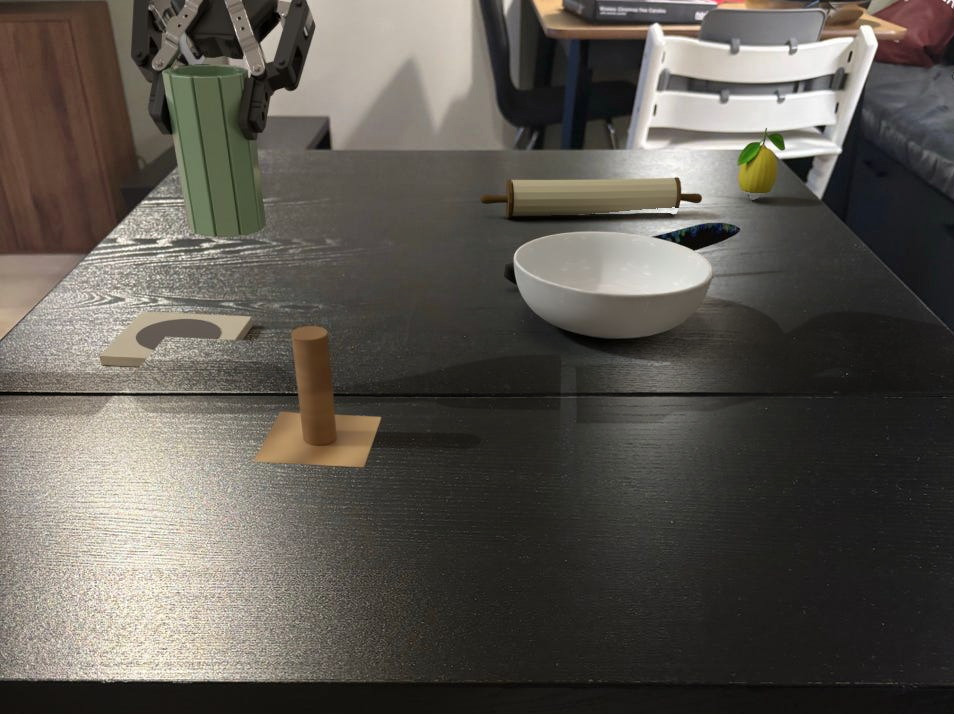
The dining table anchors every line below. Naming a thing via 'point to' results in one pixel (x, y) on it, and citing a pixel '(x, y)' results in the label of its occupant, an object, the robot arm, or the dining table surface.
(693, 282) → the serving bowl
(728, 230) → the knife
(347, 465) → the peg stand
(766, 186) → the lemon
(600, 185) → the rolling pin
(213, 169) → the ceramic tube
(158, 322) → the plate
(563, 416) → the dining table surface
